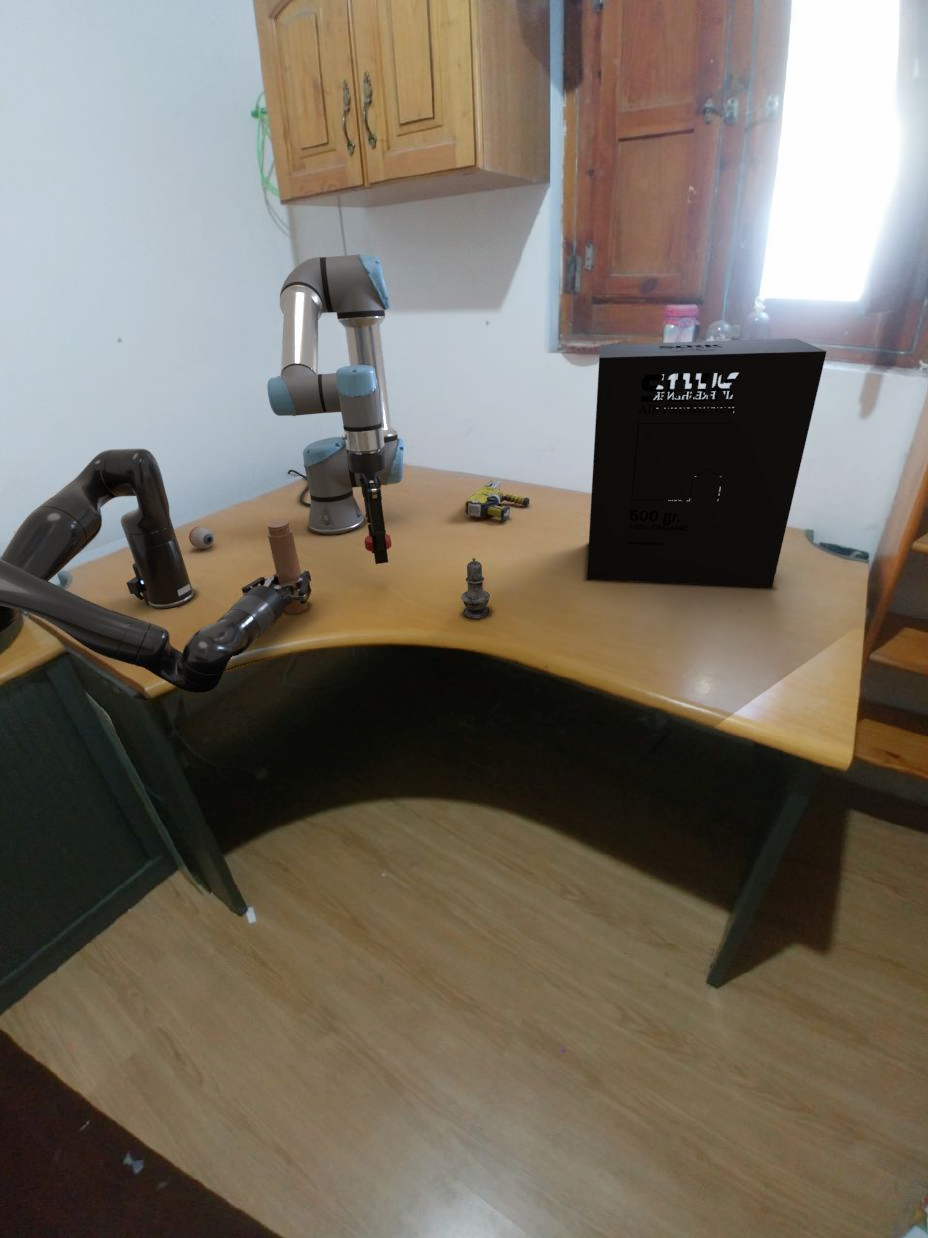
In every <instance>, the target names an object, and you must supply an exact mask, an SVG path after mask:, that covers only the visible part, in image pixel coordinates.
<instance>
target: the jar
mask: <svg viewBox="0 0 928 1238" xmlns="http://www.w3.org/2000/svg"><path fill="white" fill-rule="evenodd" d="M267 530H268V532H267V539H268V543H269V547H270V553H271V556H272V561H273V565H274V570H275V574H277V578H278V583H279V585H282V584H283V583H285V582H287V581H289V580H290V581H294V580H296V579H297V578H298V577H299V576H300V575H301V574H302V571H301V566H300V561H299V557H298V553H297V547H296V546H297V545H296V542H295V537H294V532H293V529H292V528H290V521H288V520H286V519H278V520H273V521H271V522H268V523H267ZM297 588H298V585H296V589H297ZM308 607H309V605H308V602H307V603H305V604H301V603H300V601H293V602H292V603H291V604H289V605H287V606H286V607H285V609H284V612H285V613H287V614H293V615H295V614H300V613H303V612H304V611H306V610H307V609H308Z"/></svg>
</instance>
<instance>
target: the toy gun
mask: <svg viewBox="0 0 928 1238" xmlns="http://www.w3.org/2000/svg"><path fill="white" fill-rule="evenodd" d="M530 500H531V499H530V497H527V496H526V497H525V496H524V497H523V496H521V495H520V496H519V495H517V494H516V495H514V494H511V493H506V494H505V495H504V493H503V491H501V482H500V481H499V480H496V481H495V480H490V481H489V482H488V483H487V484H485V485H483V487H482V488H480V489H479V490H478V491H477V492H476V493H474V494H473V495H472V497H470V498H469V499H468V500H467V501H465V504H464V513H465V515H466V516H469V517H470V518H473V519H476V518H485V517H489V516H492V517H497V518H500V521H501V522H503V521H505V520H507V519H509V518H510V514H511V513H510V512H511V506H510V505H506V506H504V505H503V504H502V503H503V502H506V503H511V504H513V503H514V504H515V505H516V504H517V505H521V506H524V507H528V506H529V505H530Z"/></svg>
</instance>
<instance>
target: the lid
mask: <svg viewBox="0 0 928 1238" xmlns="http://www.w3.org/2000/svg"><path fill="white" fill-rule="evenodd" d="M385 539H386V547H387V550H389V549H390V548H391V547H392V539H391V536H390V535H389V534H387V533H386V535H385ZM364 548H365V550H366V551H368V552H371V553H372V552H374V549H373V542H372V536H371V537H369V535H366V536H365V537H364Z"/></svg>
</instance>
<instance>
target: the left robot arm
mask: <svg viewBox="0 0 928 1238" xmlns="http://www.w3.org/2000/svg"><path fill="white" fill-rule="evenodd" d="M121 497H123V498H124V497H136V502H137V507H136V508H134V509H132V510H130V511H128V512H126V513H125V514H123V515H122V516H121V518H120V524H121V527H122V530H123V533H124V536H125V538H126V542H127V544H128V546H129V550H130V553H131V555H132V558H133V561H134V562H133V564H132V566H131V567H132V569H133V572H134V575H135V576H134V577H132V578H131V579H130V580H128V581H126V586H127V588H128V591H129V594H130V595H134V596H135V597H136V598H137V599H138V600H139V601H140V602H141V601H144V603H145V605H149V606H150V607H151V608H154V609H170V608H175V607H178V606H181V605H183V604H185V603H188V602H189V601H190V600H192V599H193V597H194V596H195V592H194V591H195V590H194V588H193V586H192V583H191V580H190V577H189V573H188V570H187V567H186V564H185V560H184V558H183V554H182V551H181V547H180V544H179V541H178V538H177V535H176V532H175V528H174V525H173V522H172V519H171V514H170V504H169V498H168V496H167V492H166V488H165V483H164V479H163V475H162V472H161V468H160V465H159V462H158V461H157V459H156V457H155V455H154V454H153V453H152V452H151V451H150V450H148V449H145V448H113V449H106V450H103V451H101V452H99V453H98V454H96V455H95V456H94V457H93V458H92V459H91V460H90V462H89V463H88V464H87V465H86V466H85V467H84V468H83V470H82V471H80V473H79V474H78V475H77V476H76V477H75V478H74V479H73V480H71V481H70V482H69V483H67V484H66V485H65V486H64V487H63V488H61V489H60V490H59V491H57V492H56V493H55V494H54V495H53V496H51V497H49V498H48V499H46V501H44V502H43V503H42V504H40V505H39V506H38V507H36V508H35V509H34V510H33V511H31V512H30V513H29V515H27V516H26V518H24V520H23V522H22V523H21V524H20V525H19V527H18V528H17V530H16V531H15V533H14V535H13V536H12V538H11V539H10V541H9V543H8V545H7V546H6V548H5V549H4V551H3V553H2V554H1V556H0V634H1V633H2V632H4V631H6V630H7V629H9V628H10V627H11V626H12V625H13V624H14V623H15V622H16V621H17V620H18V618H19V617H20V616H21V614H22V613H23V612H25V613H28V614H30V615H33V616H35V617H38V618H40V619H42V620H44V621H46V622H47V623H50V624H51V625H53V626H55V627H57V628H58V629H60V630H61V631H63V632H64V633H65V634H67V635H68V636H70V637H71V638H73V640H75V641H76V642H78V643H79V644H81V645H82V646H84V647H85V648H86V649H89V650H90V651H92V652H94V653H96V654H98V655H101V656H103V657H106V658H109V659H112V660H114V661H119V662H123V663H124V664H125V663H126V664H129V665H132V666H136V667H139V668H143V669H145V670H147V671H148V672H150V673H151V674H153V675H155V676H156V677H158V678H159V679H161V680H164V681H165V682H166V683H169V684H171V685H172V686H174V687H176V688H177V689H180V690H182V691H185V692H189V693H197V694H200V693H208V692H210V691H212V690H214V689H215V688H216V687H217V686H218V685H219V683H220V681H221V679H222V677H223V674H224V672H225V670H226V668H227V666H228V664H229V662H230V661H231V659H232V658H233V657H237V656H240V655H242V654H243V653H244V652H245V651H247V650H248V649H249V648H250V647H251V646H252V645H253V644H254V643H255V642H256V641H257V640H258V639H259V638H260V637H261V636H263V635H265V633H266V632H267V631H268V630H269V629H270V628H271V627H272V626H273V625H274V624H275V623H276V622H277V621H278V620H279V619H280V618H281V617H282V616H283V614H284V612H285V607H286V606H287V605H289V604H291V603H292V602H293V601H300V603H301V604H305V603H307V604H308V601H309V598H310V596H311V593H312V588H311V583H310V582H311V581H312V577H311V576H312V575H311V573H310V571H309V570H304V571H303V572H301V575H300V576H299V577H298V578H297V579H296V580H294V581H290V580H289V581H287V582H285V583H283V584H282V585H279V583H278V578H277V574H276V573H274V574H273V575H270V576H268V577H267V578H266V577H264V576H260V577H258V578H256V579H255V580H253V581H252V582H250V583H248V584H246V585H244V586H243V587H241V592H242V595H243V596H241V597H240V598H239V599H238V600H237V601H236V602H235V603H233V605H232V606H231V607H230V608H229V609H228V610H227V612H226V613H225V614H223V615H222V616H221V617H220V618H219V619H218V620H217V621H215V622H214V623H211V624H208V625H207V626H205V627H203V628H201V629H199V630H198V631H196V632H195V633H194V634H193V635H192V636H191V637H190V638H189V639H188V641H187V642H186V643H185V645H184V648H183V651H180V650H178V649H177V648H176V647H174V646H172V645H171V636H170V632H169V631H168V629H166V628H165V627H163V626H160V625H158V624H154V623H151V622H148V621H145V620H142V619H139V618H136V617H133V616H129V615H127V614H123V613H121V612H118V611H115V610H112V609H109V608H107V607H104V606H102V605H99V604H97V603H95V602H92V601H90V600H88V599H86V598H83V597H81V596H80V595H77V594H76V593H73V592H71V591H69V590H68V589H65V588H63V587H61V586H59V585H57V584H56V583H53V582H50V580H52V579H53V578H54V577H55V576H56V575H57V574H58V573H59V572H61V570H62V569H64V568H65V567H66V566H67V565H68V564H69V563H70V562H71V561H72V560H73V559H74V558H75V557H77V556H78V555H79V554H80V553H81V552H82V551H83V550H84V549H85V548H86V547H88V545H90V543H92V541H94V539H96V537H97V536H98V535H99V533H100V531H101V529H102V525H103V516H102V511H101V510H102V509H101V508H102V507H104V505H106V504H107V503H109V501H112V500H113V499H115V498H121ZM296 585H298V588H297V589H296Z"/></svg>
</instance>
